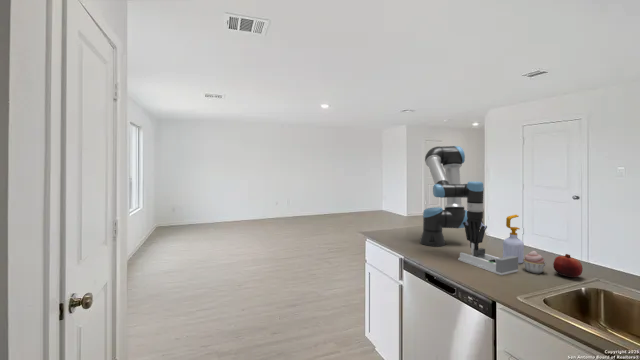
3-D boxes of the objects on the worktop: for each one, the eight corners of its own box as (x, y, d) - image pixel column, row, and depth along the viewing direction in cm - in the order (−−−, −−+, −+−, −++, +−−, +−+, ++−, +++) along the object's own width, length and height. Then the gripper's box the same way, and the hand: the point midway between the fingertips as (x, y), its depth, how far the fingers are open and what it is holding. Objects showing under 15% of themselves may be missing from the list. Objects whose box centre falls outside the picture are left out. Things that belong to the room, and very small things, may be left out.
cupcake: (551, 274, 135) (552, 253, 134) (534, 275, 133) (534, 254, 133) (533, 267, 144) (534, 247, 143) (517, 268, 142) (517, 248, 142)
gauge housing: (458, 259, 156) (458, 247, 156) (474, 257, 161) (474, 244, 160) (501, 275, 134) (501, 260, 134) (518, 271, 139) (518, 256, 138)
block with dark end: (469, 261, 150) (469, 249, 149) (481, 259, 153) (481, 247, 153) (492, 269, 138) (493, 257, 137) (505, 266, 141) (505, 254, 141)
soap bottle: (526, 264, 148) (528, 216, 147) (507, 263, 150) (508, 216, 149) (518, 258, 157) (519, 213, 156) (500, 257, 159) (500, 213, 158)
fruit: (547, 272, 138) (547, 251, 137) (568, 272, 137) (569, 251, 137) (565, 280, 127) (566, 258, 126) (588, 280, 127) (589, 258, 126)
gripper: (459, 209, 157) (458, 252, 158) (481, 213, 145) (480, 259, 146) (469, 208, 160) (468, 250, 161) (491, 212, 148) (490, 257, 149)
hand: (474, 254), depth 154 cm, fingers closed
